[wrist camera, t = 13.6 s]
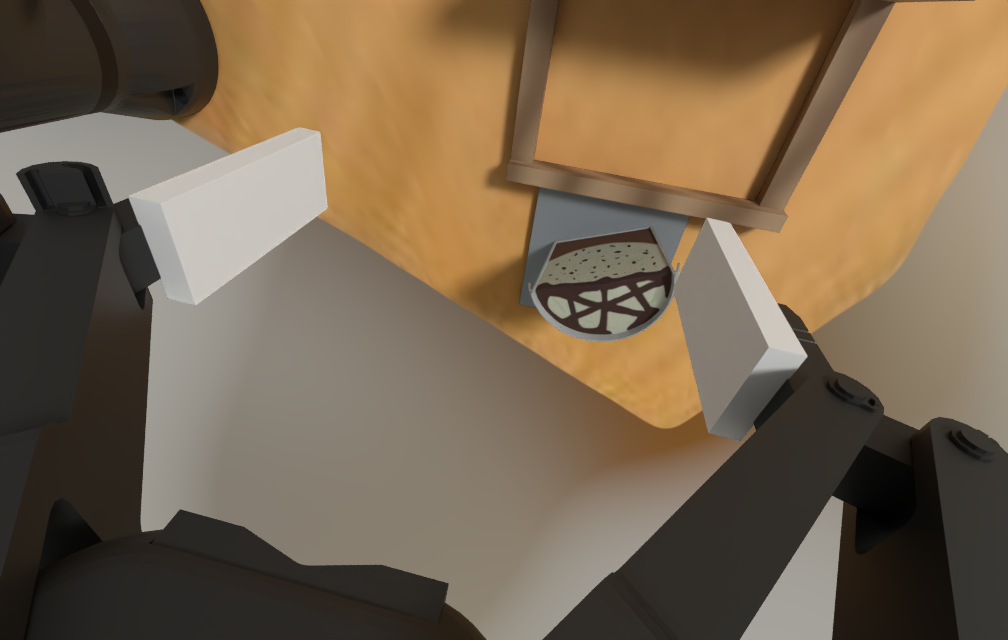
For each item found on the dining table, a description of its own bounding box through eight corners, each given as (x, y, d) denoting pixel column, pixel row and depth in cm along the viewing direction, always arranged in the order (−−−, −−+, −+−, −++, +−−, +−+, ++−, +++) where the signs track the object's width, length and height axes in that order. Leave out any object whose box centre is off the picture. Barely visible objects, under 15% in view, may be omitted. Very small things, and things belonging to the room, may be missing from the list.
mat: (520, 301, 49) (519, 304, 49) (541, 180, 41) (540, 182, 40) (643, 328, 48) (643, 331, 48) (690, 209, 40) (692, 211, 39)
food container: (552, 294, 47) (540, 352, 39) (540, 243, 44) (524, 295, 36) (672, 279, 43) (686, 340, 35) (669, 222, 40) (683, 275, 32)
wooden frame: (510, 171, 41) (489, 206, 34) (543, -76, 31) (522, -101, 23) (770, 221, 39) (806, 269, 32) (901, -26, 28) (998, -38, 21)
